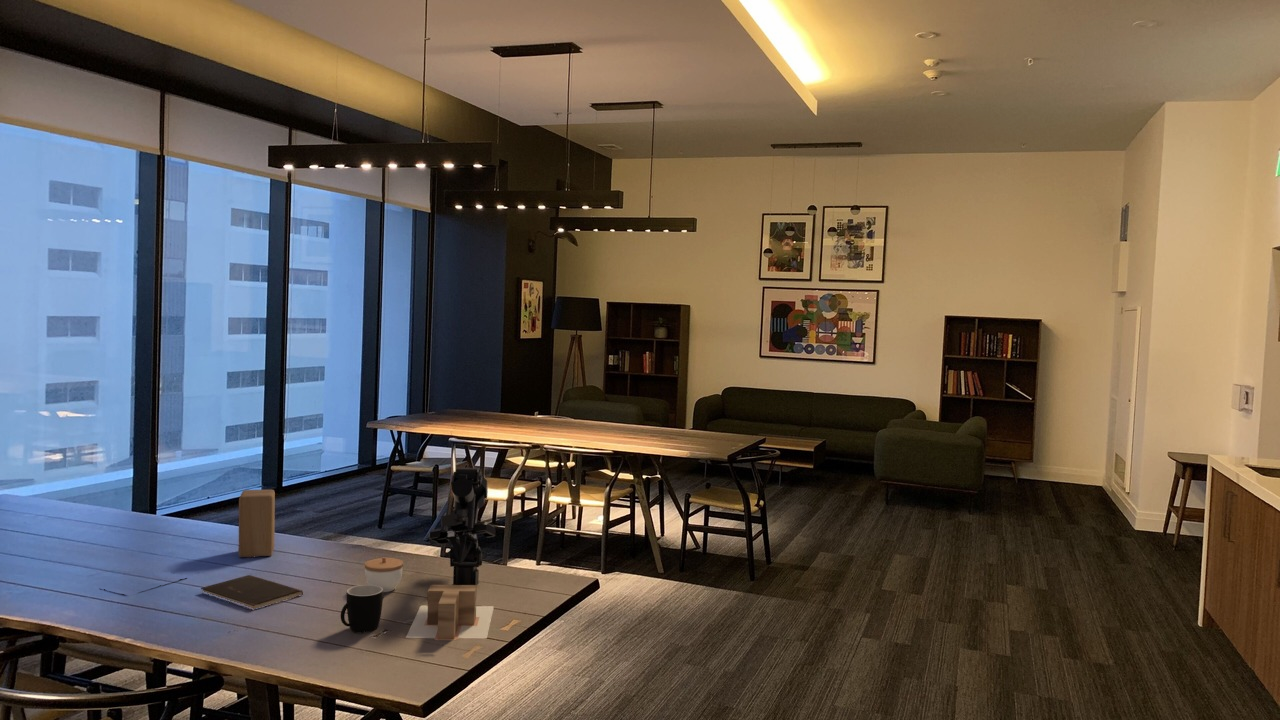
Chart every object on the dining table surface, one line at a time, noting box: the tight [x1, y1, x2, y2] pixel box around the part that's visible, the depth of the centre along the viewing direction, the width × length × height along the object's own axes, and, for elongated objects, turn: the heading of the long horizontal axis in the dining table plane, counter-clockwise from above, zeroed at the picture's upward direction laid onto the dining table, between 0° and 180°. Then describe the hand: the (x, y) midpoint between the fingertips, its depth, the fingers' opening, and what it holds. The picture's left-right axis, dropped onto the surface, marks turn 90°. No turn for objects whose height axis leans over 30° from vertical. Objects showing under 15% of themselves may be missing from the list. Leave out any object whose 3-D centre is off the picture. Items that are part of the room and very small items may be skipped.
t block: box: [427, 584, 478, 639], centre depth 240 cm, size 15×12×9 cm
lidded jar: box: [364, 556, 404, 593], centre depth 270 cm, size 11×11×9 cm
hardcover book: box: [200, 574, 304, 609], centre depth 261 cm, size 16×23×2 cm
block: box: [238, 489, 276, 558], centre depth 299 cm, size 10×10×20 cm
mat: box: [405, 605, 495, 641], centre depth 244 cm, size 25×20×1 cm
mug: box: [340, 584, 384, 634], centre depth 237 cm, size 12×9×10 cm
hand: (459, 562), depth 259 cm, fingers closed
